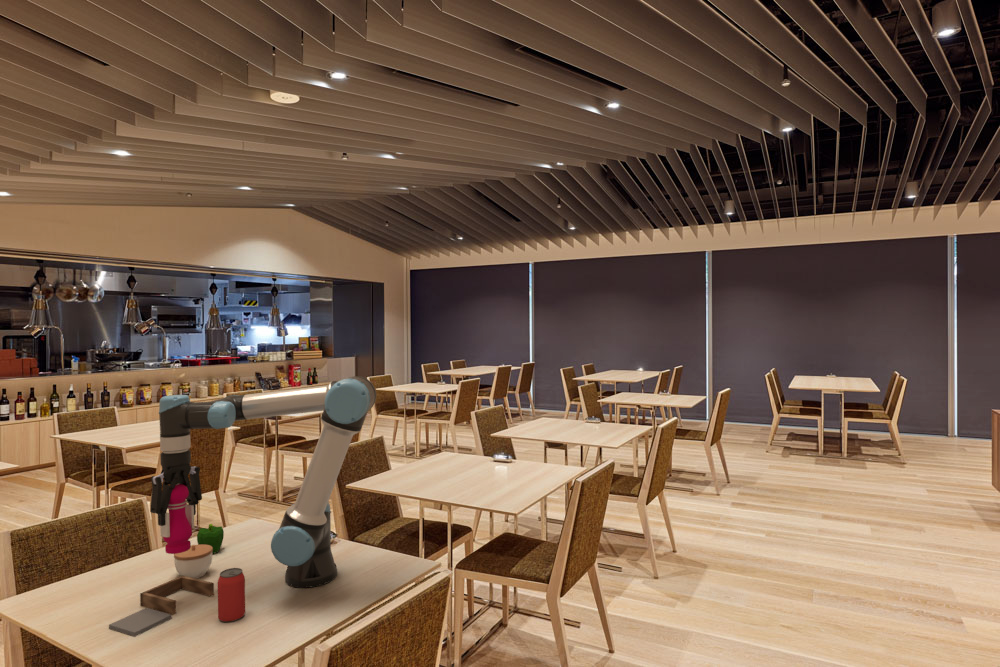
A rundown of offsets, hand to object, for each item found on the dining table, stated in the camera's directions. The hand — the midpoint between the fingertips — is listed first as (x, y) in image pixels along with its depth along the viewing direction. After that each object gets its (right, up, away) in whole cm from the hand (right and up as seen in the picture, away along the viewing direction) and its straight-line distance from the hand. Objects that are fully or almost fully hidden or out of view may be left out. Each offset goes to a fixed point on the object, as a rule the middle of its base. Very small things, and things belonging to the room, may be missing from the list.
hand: (177, 531), depth 169 cm
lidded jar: (-4, -19, +17) cm, 27 cm away
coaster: (-3, -20, -13) cm, 24 cm away
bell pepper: (-9, -19, +37) cm, 43 cm away
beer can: (+20, -20, -10) cm, 29 cm away
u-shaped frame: (0, -19, 0) cm, 19 cm away
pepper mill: (0, -5, 0) cm, 5 cm away
